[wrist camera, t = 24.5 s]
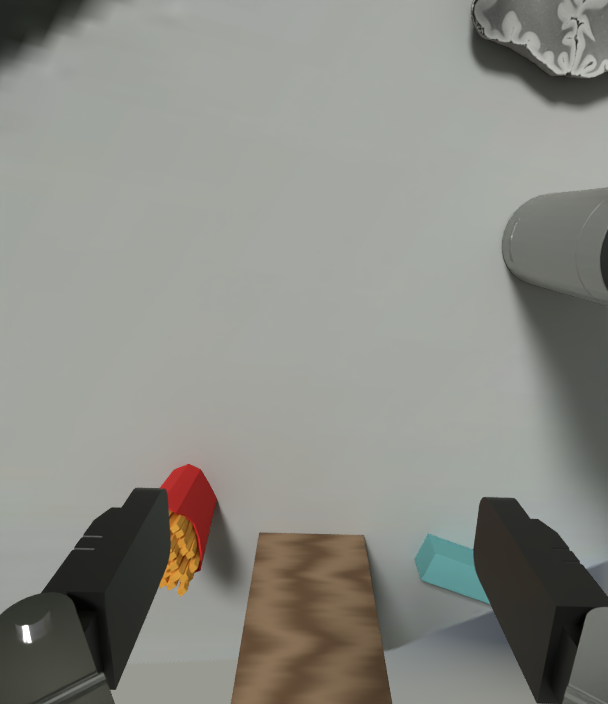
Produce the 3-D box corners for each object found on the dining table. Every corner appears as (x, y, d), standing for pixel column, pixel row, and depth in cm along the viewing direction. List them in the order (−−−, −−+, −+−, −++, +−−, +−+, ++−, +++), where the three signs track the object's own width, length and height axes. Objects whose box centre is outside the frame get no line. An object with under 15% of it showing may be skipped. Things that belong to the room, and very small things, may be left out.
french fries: (225, 512, 58) (202, 592, 46) (194, 524, 59) (163, 606, 46) (191, 450, 56) (156, 516, 43) (159, 463, 56) (116, 532, 44)
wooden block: (363, 535, 59) (422, 882, 28) (358, 614, 62) (406, 1004, 31) (259, 532, 59) (202, 876, 28) (259, 611, 62) (209, 997, 31)
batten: (596, 592, 61) (616, 617, 57) (581, 615, 62) (599, 641, 58) (427, 531, 59) (435, 553, 55) (414, 557, 60) (421, 580, 56)
